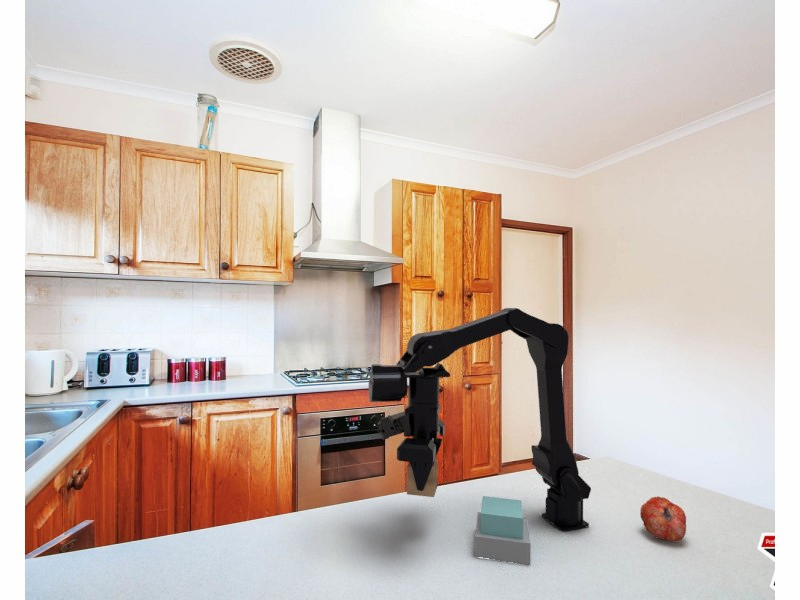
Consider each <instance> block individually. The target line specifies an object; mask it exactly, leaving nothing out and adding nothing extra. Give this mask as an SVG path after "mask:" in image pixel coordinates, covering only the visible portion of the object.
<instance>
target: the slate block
mask: <svg viewBox="0 0 800 600" xmlns="http://www.w3.org/2000/svg"><path fill="white" fill-rule="evenodd" d="M528 523H529V522H528V518H527V517H525V516H523V539H515V538H508V537H501V536H493V535H486V534H481V511H477V515H476V527H475V535H474V538H475V539H474V540H475V541H474V546H475V548H474V549H475V550H474V553H475V555H474V557H475V556H476V557H483V558H489V559H495V560H500V561H499V562H501V561H506V562H505V563H508V562H513V563H512V564H515V563H517V564H516V565H522V564H523V566H529V565H530V566H531V551H532V550H531V549H532V547H531V538H530V531H529V524H528Z"/></svg>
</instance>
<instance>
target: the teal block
mask: <svg viewBox="0 0 800 600" xmlns="http://www.w3.org/2000/svg"><path fill="white" fill-rule="evenodd" d="M481 499H482V502H481V509H480V512H481V534H486V535H493V536H501V537H508V538H515V539H523V517H524V515H523V513H524V512H523V502H522V500H521V499H511V498H503V497H495V496H487V495H482V498H481Z"/></svg>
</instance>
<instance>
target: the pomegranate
mask: <svg viewBox="0 0 800 600" xmlns="http://www.w3.org/2000/svg"><path fill="white" fill-rule="evenodd" d="M639 513H640V519H641V520H642V522H643V527H644V529H645V530H646V531H647V532H648V533H649V534H651V536H653V537H654V538H656V539H659V540H665V541H669V542H674V543H675V542H679V541H681V540H682V539H684V538H685V536H686V533H687V516H686V513H685V511H684V510H683V509H682V507H681V506H679V505H678V504H675V503H673V502H672V501H670V500H669V499H668V498H666V497H662V496H658V495H657V496H655V497H654V496H653V497H650V499H648V500H647V501H646V502H645V503H643V504H642V505H641V506H640V512H639Z"/></svg>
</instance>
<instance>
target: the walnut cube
mask: <svg viewBox="0 0 800 600" xmlns="http://www.w3.org/2000/svg"><path fill="white" fill-rule="evenodd" d="M438 462H439V460H438V459H435V461H434V464H433V466H432V469H431V472H430V474H429V477H428V479H427V482H426V484H425V487H424V490H423V491H419V490H417V487H416V483H415V479H414V475H413V471H412V467H411V464H410V463H409V462H408V464H407V466H406V495H411V496H419V497H427V498H435V495H436V492H437V489H438V484H439V483H438V474H439V473H438V470H439V467H438V465H439V463H438Z"/></svg>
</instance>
